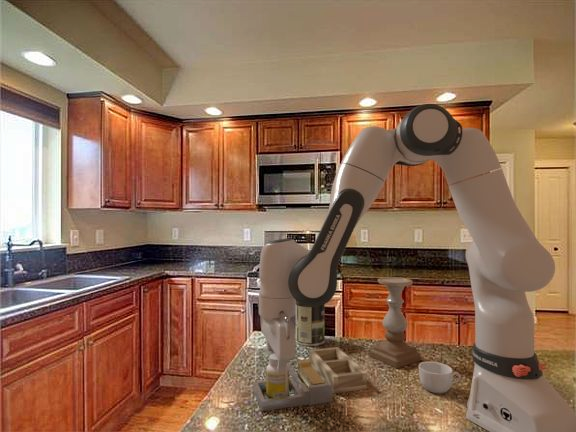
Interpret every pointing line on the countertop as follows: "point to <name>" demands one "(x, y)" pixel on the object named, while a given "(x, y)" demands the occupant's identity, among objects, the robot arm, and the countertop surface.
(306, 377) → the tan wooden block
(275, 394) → the supplement bottle
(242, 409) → the countertop surface
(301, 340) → the coffee can
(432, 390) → the teacup
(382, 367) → the countertop surface
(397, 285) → the candle holder
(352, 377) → the box
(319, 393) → the socket block
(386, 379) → the countertop surface
